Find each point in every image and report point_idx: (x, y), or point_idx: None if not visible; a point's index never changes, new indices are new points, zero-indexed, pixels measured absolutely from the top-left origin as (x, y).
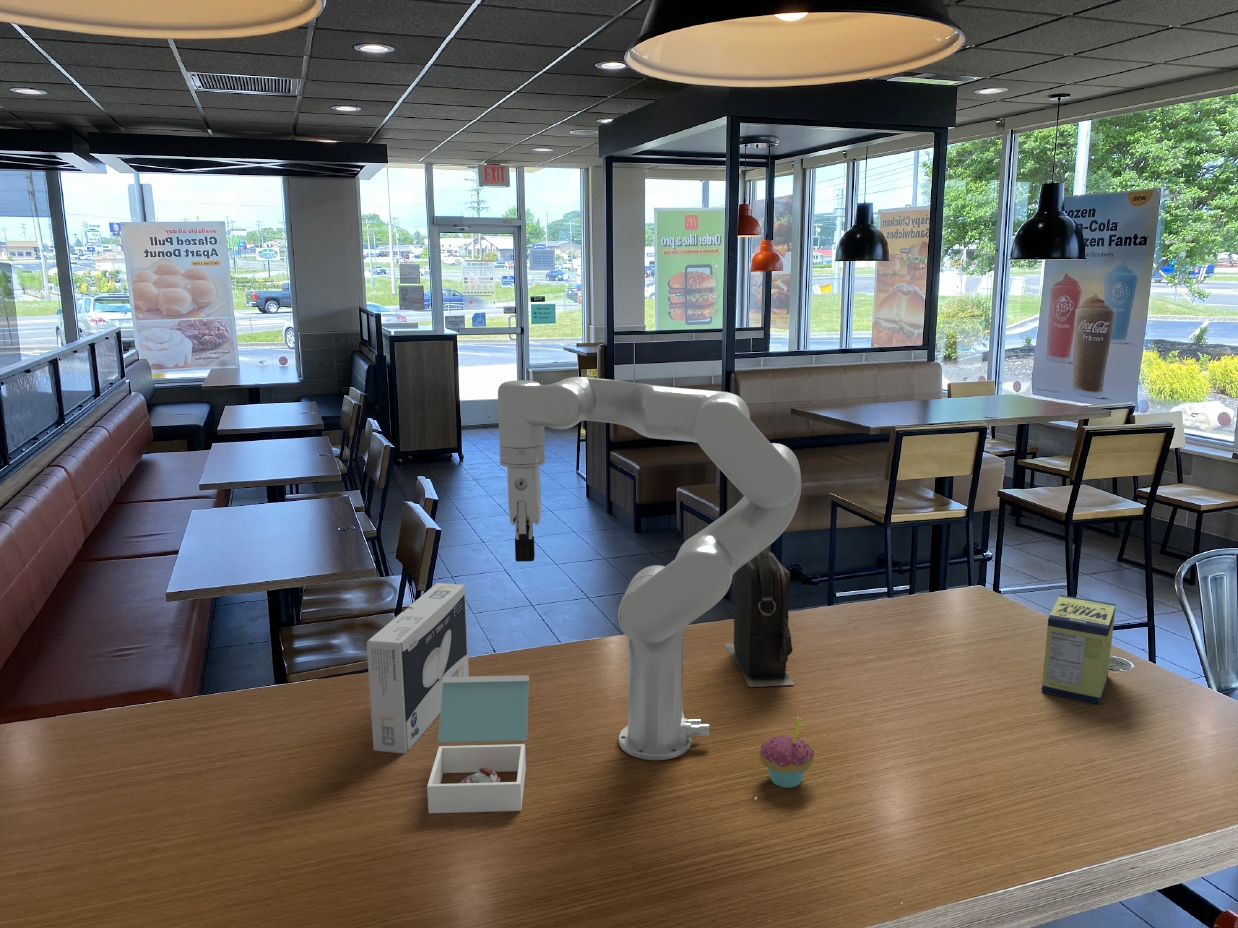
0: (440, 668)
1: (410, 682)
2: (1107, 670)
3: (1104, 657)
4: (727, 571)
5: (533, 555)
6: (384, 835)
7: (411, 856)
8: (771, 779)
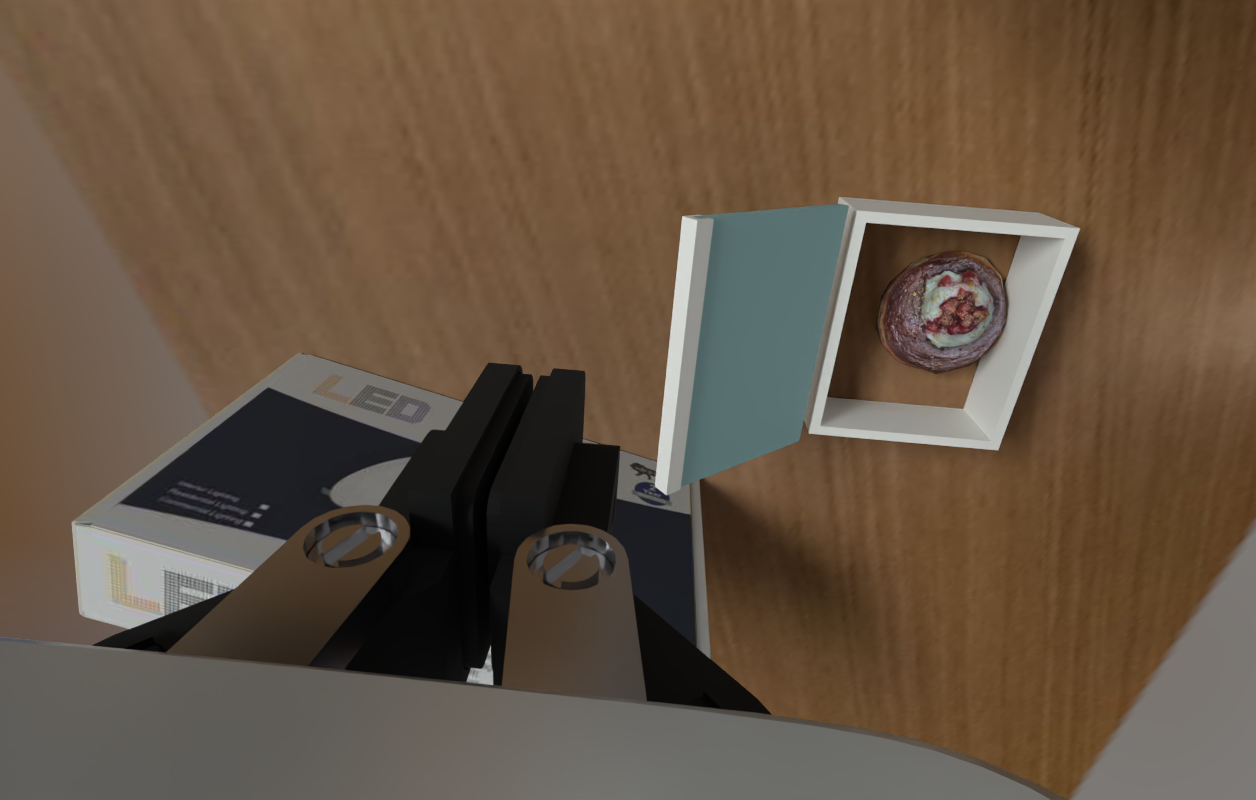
0: None
1: (657, 565)
2: None
3: None
4: None
5: (579, 396)
6: (1019, 489)
7: (1117, 439)
8: None
